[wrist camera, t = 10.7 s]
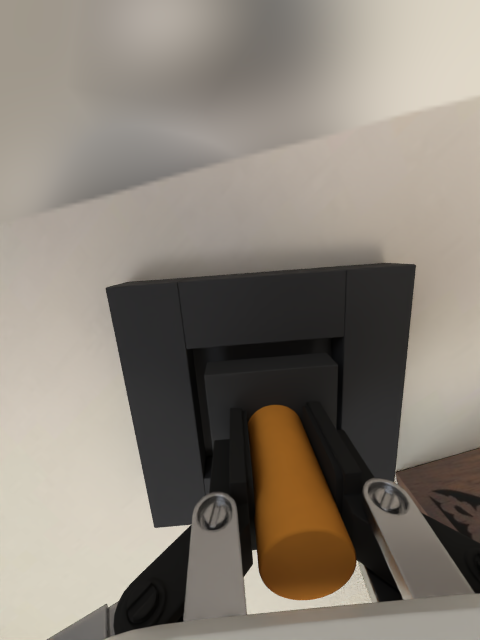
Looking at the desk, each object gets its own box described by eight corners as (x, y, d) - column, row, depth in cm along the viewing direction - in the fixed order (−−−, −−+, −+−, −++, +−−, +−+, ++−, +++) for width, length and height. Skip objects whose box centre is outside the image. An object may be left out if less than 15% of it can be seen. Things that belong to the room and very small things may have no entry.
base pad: (126, 282, 13) (104, 287, 11) (385, 262, 14) (417, 264, 11) (164, 491, 17) (154, 528, 15) (370, 472, 17) (392, 506, 15)
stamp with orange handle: (206, 361, 13) (178, 485, 6) (326, 352, 13) (435, 463, 6) (218, 461, 14) (205, 651, 7) (325, 452, 14) (410, 632, 7)
